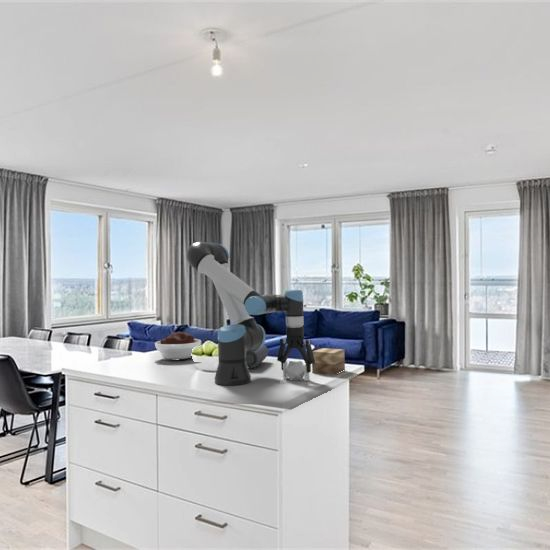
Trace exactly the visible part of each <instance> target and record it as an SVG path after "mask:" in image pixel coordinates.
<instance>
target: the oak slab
mask: <svg viewBox="0 0 550 550" xmlns="http://www.w3.org/2000/svg"><path fill="white" fill-rule="evenodd" d="M312 352H313V356H314V360H315V363H323V364H337V363H339V362H342V361H346V360H345V357H346V356H345V349H344V348H343V349H340V348H326V347H325V348H323V347H322V348H318V349H316V350H312Z"/></svg>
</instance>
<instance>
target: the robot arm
mask: <svg viewBox="0 0 550 550" xmlns="http://www.w3.org/2000/svg"><path fill="white" fill-rule="evenodd" d="M186 259H187V262H188V264H189V266H191V267H192V269H194V270H195V271H196V272H198V273H199V274H204V275H206V276H207V277H208V278H209V279H210V280H211V281H212V282H213V284H214V287H215V290H216V292H217V294H218V297H219V298H220V301H221V303H222V305H223V308H224V310H225V312H226V314H227V316H228V319H229V321H230V323H231V324H228V325H224V326H221V327H220V328H218V332H217V349H218V364H217V368H216V372H215V376H214V383H215V384H216V385H222V386H240V385H245V384H248V383H250V382H252V375H251V373H250V370H249V367H248V366H247V363H246V353H248V352H252V351H256V350H257V349H260V348H261V347H262V346H263V344H264V345H265V342H266V338H267V335H266V331H265V329H264V327H263V326H261V325H260V324H258V323H257V321H256V320H255V317H254V316H260V315H264V314H270V313H285V326H286V327H285V331H286V332H285V334H286V337H285V338H284V337H283V338H280V339H279V344H280V345H279V348H278V349H279V350H278V352H277V353H278V354H277V359H276V360H277V362H279V363H281V368H280V369H281V371H282V379H284V380H285V379H289V377H288V375H287V373H286V370H287V367H288V364H289V362H287V360H288V357H290V354H291V352H292V350H293V349H296V350H298V351H299V352H300V355H301V357H302V359H303V361H304V363H305V364H303V365H304V381H305V382H307V381H310V373H311V372H312V368H311V367H312V364H313V363H315V360H314V356H313V352H312V351H313V348H312V346H311V345H312V343H311V342H312V340H311V339H305V337H304V335H305V327H304V325H305V324H304V322H305V321H304V319H305V317H304V294H303V291H302V290H301V289H286V290H285V291H284V294H263V295H262V294H260V293H259V292H257V291H256V290H255V289H254V288H252V287H251V286H250V285H248V284H247V283H246V282H244V281H243V280H242V279H241V278H239V277H238V276H237V275H235V274H234V273H233V272H231V271H230V270H229V267H230V262H229V259H230V253H229V251H228V249H227V247H225V245H223V244H220V243H217V242H206V241H205V242H204V241H197V242H193V243H192V244H191V245H189V247H188V248H187V251H186ZM250 315H252V316H250ZM286 344H287V345H286Z"/></svg>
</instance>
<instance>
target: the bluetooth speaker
mask: <svg viewBox="0 0 550 550" xmlns="http://www.w3.org/2000/svg"><path fill="white" fill-rule="evenodd" d="M268 353H269V349H268V347H267V346H266V345H265V343H264V344H263V346H262V347H261V348H260V349H257V350H256V351H252V352H248V353H246V363H247V366H248V369H249V368H251V369H253V368H254V369H255V368H257V367H259V366H260V365H261V363H262V362H263V361H264V360H265V359H266V358H267V357H268Z"/></svg>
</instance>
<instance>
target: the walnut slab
mask: <svg viewBox="0 0 550 550" xmlns="http://www.w3.org/2000/svg"><path fill="white" fill-rule="evenodd" d="M345 361H346V360H345ZM345 361H342V362H339V363H337V364H323V363H313V364H311V367H312V368H311V372H312V374H316V373H319V375H327V374H330V376H335V375H338V374H337V373H339V372H341V371H343V370H345V371H346V365H345V363H346V362H345ZM343 372H344V371H343ZM341 373H342V372H341ZM339 374H340V373H339Z"/></svg>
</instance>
